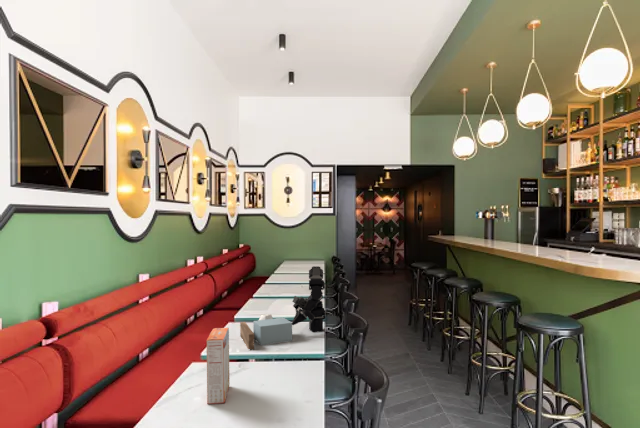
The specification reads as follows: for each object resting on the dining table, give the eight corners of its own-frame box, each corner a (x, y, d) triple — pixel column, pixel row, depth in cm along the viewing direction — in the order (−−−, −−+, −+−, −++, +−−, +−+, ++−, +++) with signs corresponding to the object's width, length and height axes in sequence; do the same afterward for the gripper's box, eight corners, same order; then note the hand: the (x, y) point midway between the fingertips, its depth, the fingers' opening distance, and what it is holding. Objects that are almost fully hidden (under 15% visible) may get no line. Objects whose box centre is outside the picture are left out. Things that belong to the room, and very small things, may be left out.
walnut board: (245, 335, 206) (245, 321, 206) (254, 349, 183) (254, 334, 183) (240, 336, 205) (240, 322, 205) (248, 350, 182) (248, 334, 183)
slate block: (283, 335, 207) (283, 317, 208) (292, 341, 196) (292, 322, 197) (253, 339, 200) (253, 320, 201) (260, 345, 190) (260, 326, 190)
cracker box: (212, 386, 142) (212, 327, 142) (230, 386, 143) (229, 327, 143) (205, 404, 128) (205, 339, 128) (224, 403, 129) (224, 338, 129)
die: (266, 334, 210) (277, 317, 214) (252, 325, 212) (263, 308, 215) (268, 335, 218) (278, 319, 222) (255, 327, 220) (265, 311, 223)
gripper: (296, 287, 213) (276, 310, 209) (308, 293, 195) (286, 318, 191) (310, 301, 216) (290, 323, 211) (323, 308, 198) (302, 333, 194)
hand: (292, 324), depth 202 cm, fingers closed
